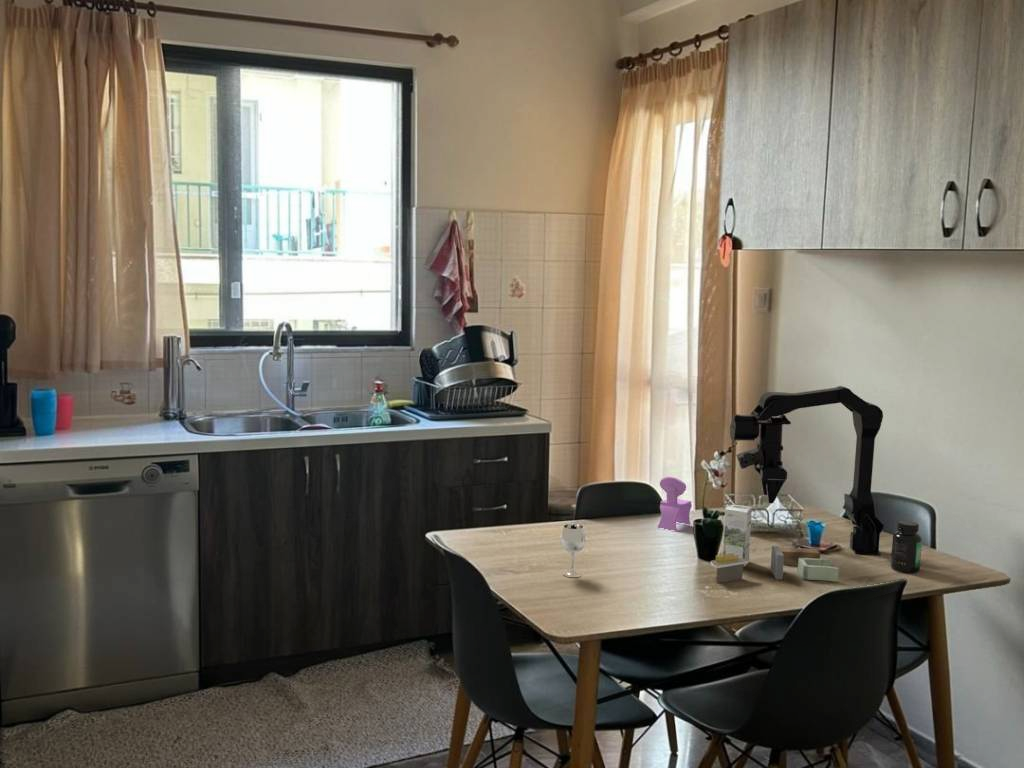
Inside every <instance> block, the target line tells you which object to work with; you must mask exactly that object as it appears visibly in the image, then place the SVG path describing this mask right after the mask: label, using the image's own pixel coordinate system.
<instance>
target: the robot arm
mask: <svg viewBox="0 0 1024 768" xmlns="http://www.w3.org/2000/svg"><path fill="white" fill-rule="evenodd" d="M834 404H841V405H842V406H844V407H845V408H846V409H847V410H849V412H850V413H852V422H853V427H854V431H855V434H856V442H855V455H854V467H853V468H854V471H853V480H852V481H853V484H852V489H851V491H850V493H844V499H843V500H844V503H843V505H842V508H843V509H844V511H845V515H846V516H847V517H848V519H850V520H851V523H852V525H853V526H852V531H850V540H849V548H850V549H851V550H852V551H853V553H855V554H856V555H857V554H858V555H881V551H880V550H879V549H880V535H881V533H882V532H883V530H884V527H885V526H884V523H882V522H881V521H880V520H879V519H878V518H877V517H876V507H875V501H874V498H873V494H872V480H873V470H874V469H873V468H874V454H875V443H876V441H875V440H876V438H877V435H878V433H879V431H880V430H881V427H882V423H883V418H884V412H883V410H882V408H881V407H880V406H878V405H876V404H873V403H871V402H868V401H865V400H864V399H862V398H861V397H860V396H858V395H857V394H856V393H854V392H853V391H852V390H851V389H850V388H848V387H845V386H843V385H839V386H835V387H830V388H824V389H816V390H807V391H800V392H794V393H793V392H791V393H790V392H780V391H767V392H764V393H763V394H761V396H760V398H759V400H758V404H757V405H756V407H754V409H753V410H752V411H751V413H750V414H747V415H745V414H732V419H731V422H730V425H729V436H730V439H731V441H735V442H736V441H737V442H738V441H747V442H748V441H749V442H750V441H751V442H753V441H755V440H756V439H757V438H758V437H759V442H757V444H756V448H754V449H750V450H747V451H744V452H741V453H740V452H739V453H738V454H736V458H737V462H738V464H739V465H738V466H739V467H740V469H743V470H744V469H747V468H748V467H751V466H753V468H754V469H755V471H756V472H757V473H758V474H759V477H760V480H761V481H760V482H761V488H762V493H763V494H762V495H764V496H767V500H768V504H774V502H775V500H776V499H777V496H778V495H779V492H780V490H781V489H782V487H783V485H784V484H785V482H786V480H788V471H787V470H786V469H785V468H784V466H783V461H782V452H783V451H784V446H783V427H784V425H791V424H792V422H791V421H790V420H789V419H788V418H787V416H786V414H790V413H792V412H793V411H795V410H796V411H797V410H799V409H803V408H805V409H806V408H813V407H820V406H826V405H834Z"/></svg>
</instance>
